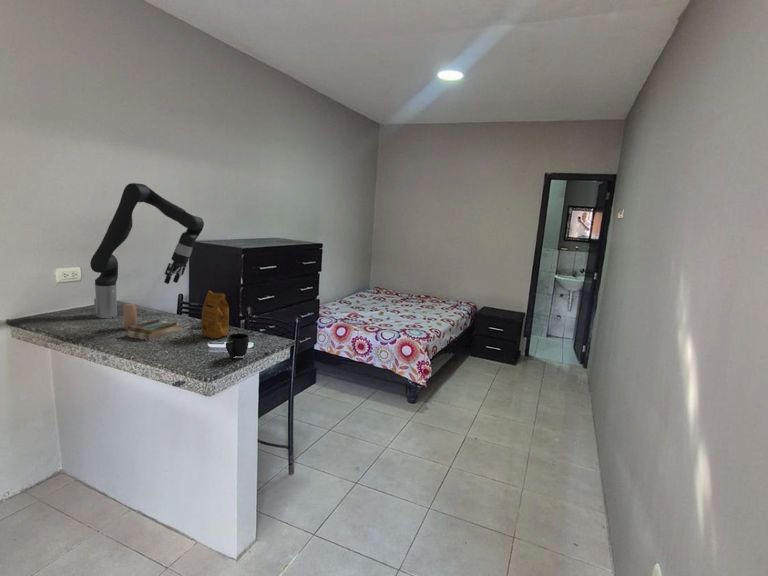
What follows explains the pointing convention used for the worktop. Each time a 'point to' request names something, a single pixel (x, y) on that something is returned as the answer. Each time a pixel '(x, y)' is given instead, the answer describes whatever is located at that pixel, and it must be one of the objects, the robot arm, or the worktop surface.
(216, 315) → the coffee package
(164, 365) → the worktop surface
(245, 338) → the mug
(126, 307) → the canister
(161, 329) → the wooden tray
